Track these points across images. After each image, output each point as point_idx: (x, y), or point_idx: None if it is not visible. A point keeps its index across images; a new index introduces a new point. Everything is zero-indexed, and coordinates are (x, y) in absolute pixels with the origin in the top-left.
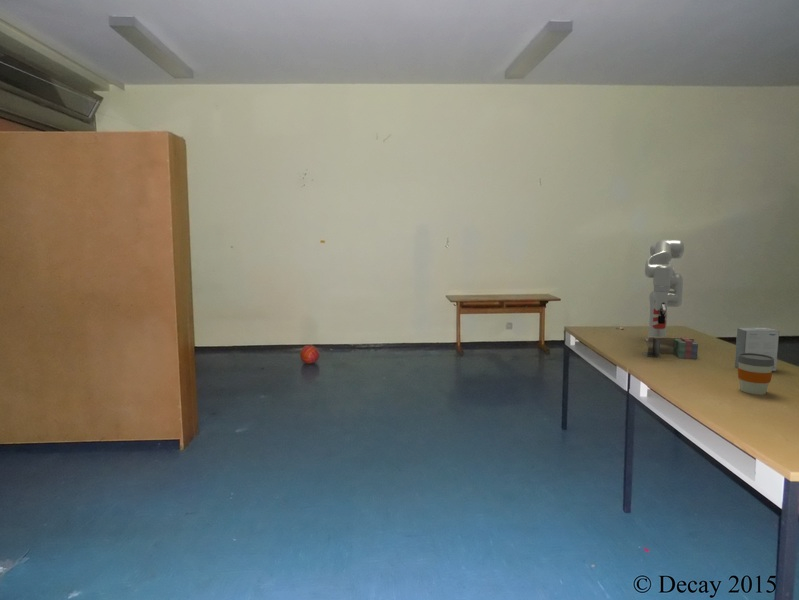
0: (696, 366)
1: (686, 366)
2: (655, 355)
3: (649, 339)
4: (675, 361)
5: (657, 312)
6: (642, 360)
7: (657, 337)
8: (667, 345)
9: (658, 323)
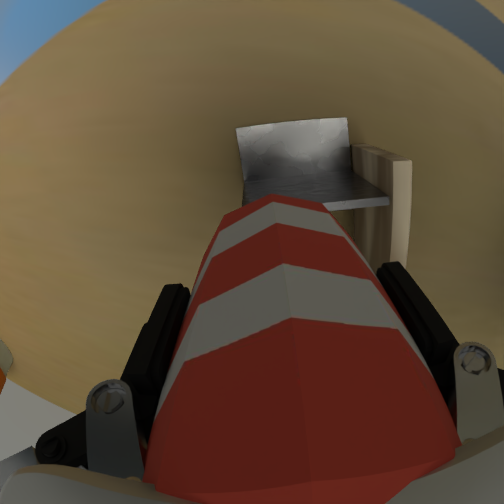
0: (133, 311)
1: (112, 279)
2: (276, 173)
3: (385, 164)
4: (185, 253)
5: (160, 435)
6: (139, 99)
7: (391, 224)
8: (369, 261)
9: (193, 286)
